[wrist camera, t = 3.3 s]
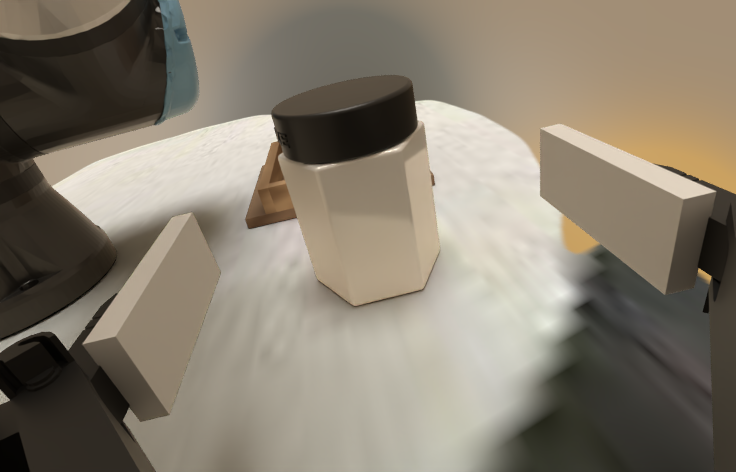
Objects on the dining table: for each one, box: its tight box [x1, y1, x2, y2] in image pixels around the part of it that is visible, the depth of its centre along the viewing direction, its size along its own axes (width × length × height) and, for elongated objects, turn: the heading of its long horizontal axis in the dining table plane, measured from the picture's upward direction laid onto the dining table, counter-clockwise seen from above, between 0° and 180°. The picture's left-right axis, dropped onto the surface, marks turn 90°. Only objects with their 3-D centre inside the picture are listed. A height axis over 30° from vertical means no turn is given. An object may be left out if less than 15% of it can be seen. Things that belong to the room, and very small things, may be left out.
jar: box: [271, 75, 440, 306], centre depth 26 cm, size 9×8×12 cm
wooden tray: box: [245, 141, 435, 229], centre depth 44 cm, size 18×15×4 cm
